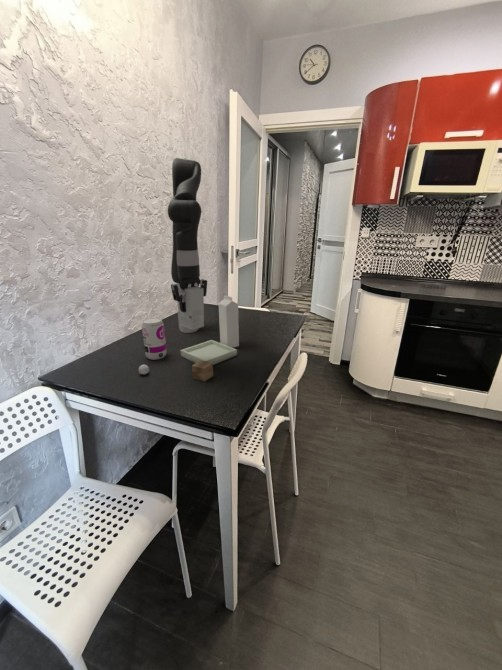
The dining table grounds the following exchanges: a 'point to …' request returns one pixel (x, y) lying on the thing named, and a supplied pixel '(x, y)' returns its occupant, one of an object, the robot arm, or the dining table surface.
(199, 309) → the skincare box
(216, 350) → the tray
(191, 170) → the robot arm
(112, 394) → the dining table surface
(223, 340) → the milk
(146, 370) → the white egg
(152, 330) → the supplement can
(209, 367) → the walnut block
